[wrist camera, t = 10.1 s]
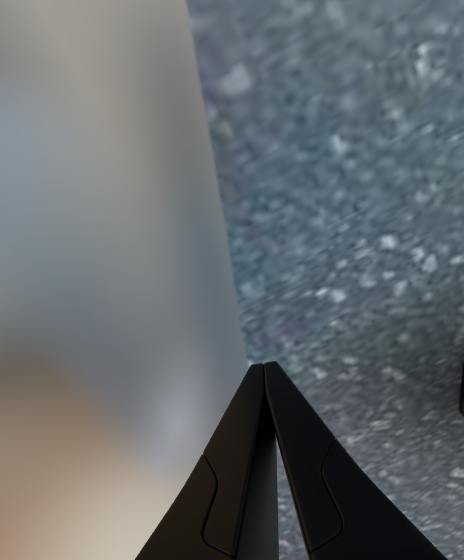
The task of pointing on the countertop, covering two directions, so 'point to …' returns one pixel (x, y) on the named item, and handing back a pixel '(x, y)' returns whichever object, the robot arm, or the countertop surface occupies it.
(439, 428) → the countertop surface
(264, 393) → the robot arm
